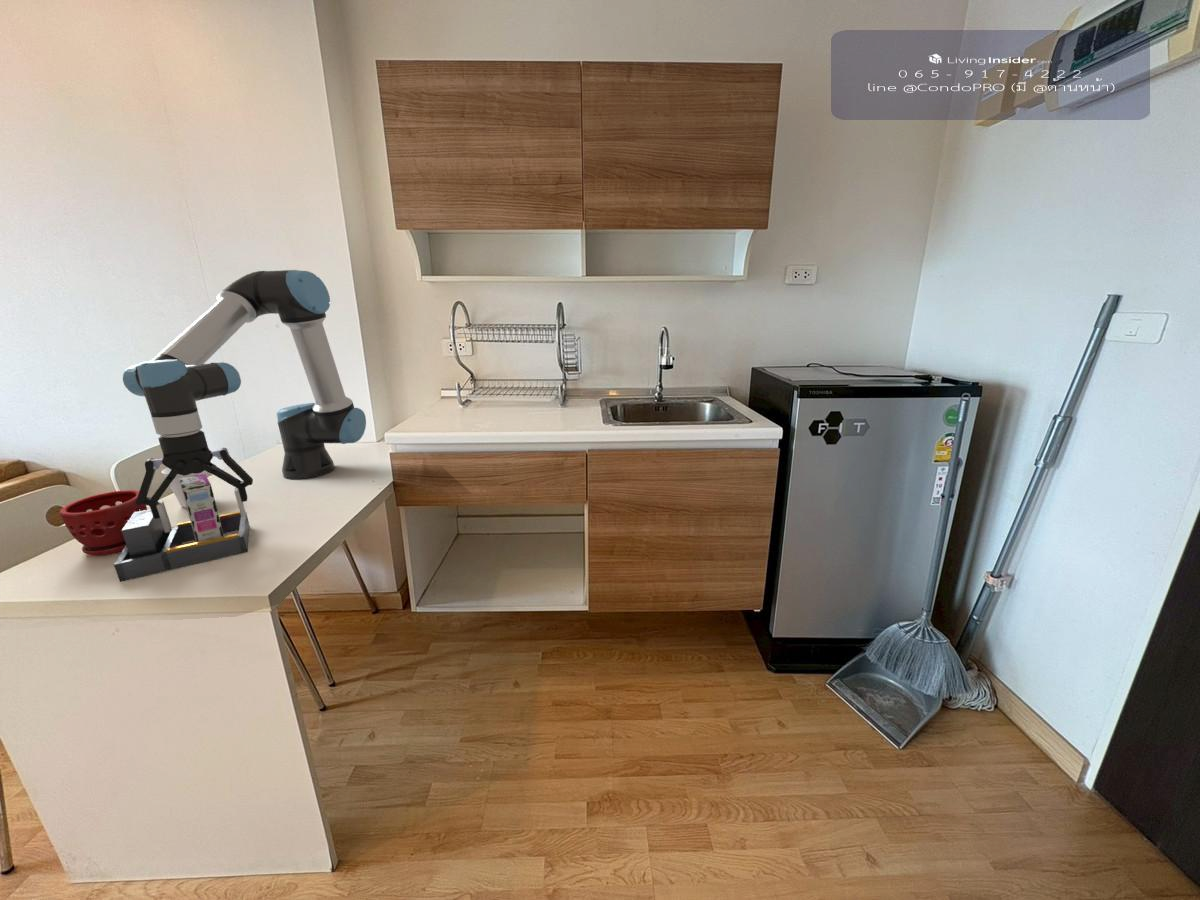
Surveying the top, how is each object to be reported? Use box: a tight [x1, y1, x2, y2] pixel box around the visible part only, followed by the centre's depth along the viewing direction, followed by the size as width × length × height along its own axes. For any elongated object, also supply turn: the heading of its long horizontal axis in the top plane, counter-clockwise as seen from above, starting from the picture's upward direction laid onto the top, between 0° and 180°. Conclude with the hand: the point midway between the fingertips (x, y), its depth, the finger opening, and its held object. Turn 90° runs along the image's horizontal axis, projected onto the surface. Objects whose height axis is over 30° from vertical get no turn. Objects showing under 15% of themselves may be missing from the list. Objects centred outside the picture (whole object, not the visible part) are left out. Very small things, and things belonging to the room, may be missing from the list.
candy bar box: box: [180, 474, 225, 542], centre depth 106 cm, size 11×5×16 cm, turn 44°
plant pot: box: [59, 489, 148, 557], centre depth 106 cm, size 13×13×12 cm
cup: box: [161, 467, 208, 509], centre depth 131 cm, size 10×10×11 cm
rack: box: [113, 508, 251, 583], centre depth 104 cm, size 21×16×10 cm
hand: (207, 522), depth 106 cm, fingers open, 13 cm apart
